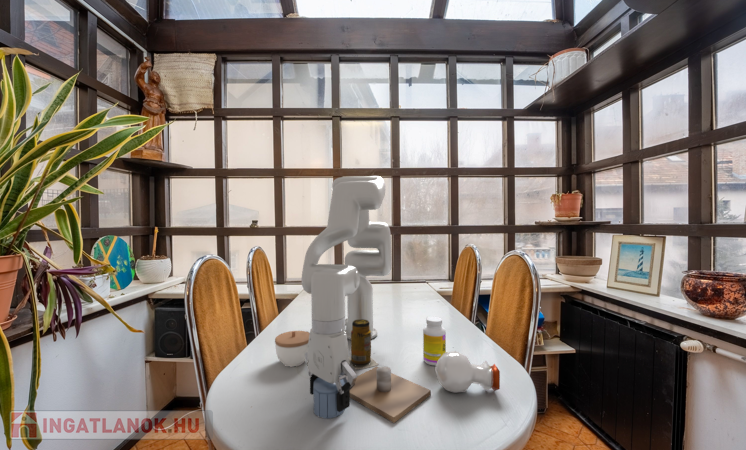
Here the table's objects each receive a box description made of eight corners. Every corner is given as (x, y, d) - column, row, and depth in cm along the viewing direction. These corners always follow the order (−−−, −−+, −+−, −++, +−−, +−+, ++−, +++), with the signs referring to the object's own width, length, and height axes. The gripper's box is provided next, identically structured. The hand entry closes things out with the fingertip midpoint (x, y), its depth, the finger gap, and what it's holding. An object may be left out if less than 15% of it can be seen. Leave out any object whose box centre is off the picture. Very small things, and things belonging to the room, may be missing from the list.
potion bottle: (431, 391, 78) (491, 400, 77) (438, 386, 70) (505, 396, 69) (432, 353, 83) (487, 361, 82) (438, 344, 75) (500, 353, 74)
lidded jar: (319, 361, 92) (318, 330, 92) (287, 374, 85) (287, 341, 85) (299, 351, 100) (298, 323, 100) (268, 362, 92) (268, 331, 92)
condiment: (366, 354, 97) (366, 316, 97) (378, 365, 90) (378, 324, 90) (345, 358, 94) (345, 320, 94) (356, 370, 87) (355, 328, 87)
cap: (307, 408, 69) (307, 382, 69) (331, 395, 74) (331, 371, 74) (326, 422, 64) (326, 394, 64) (351, 407, 69) (351, 381, 69)
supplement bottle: (446, 367, 88) (445, 323, 88) (422, 365, 89) (422, 321, 89) (445, 357, 95) (445, 316, 94) (423, 355, 96) (423, 315, 96)
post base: (338, 390, 76) (338, 368, 76) (376, 370, 87) (376, 350, 86) (394, 423, 64) (393, 396, 64) (430, 395, 74) (430, 371, 74)
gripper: (293, 320, 72) (293, 392, 72) (340, 339, 60) (341, 425, 60) (319, 313, 78) (319, 380, 78) (367, 329, 66) (368, 408, 66)
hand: (329, 400), depth 69 cm, fingers open, 9 cm apart
